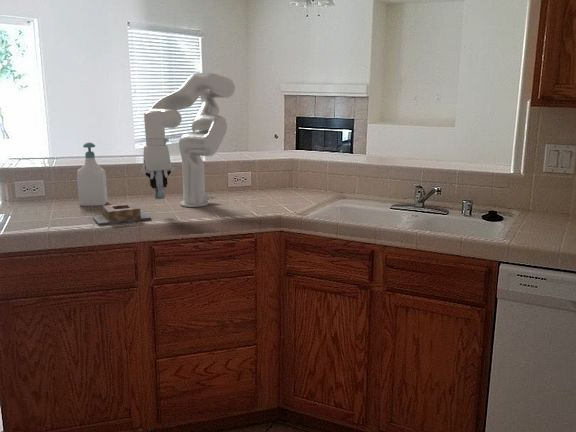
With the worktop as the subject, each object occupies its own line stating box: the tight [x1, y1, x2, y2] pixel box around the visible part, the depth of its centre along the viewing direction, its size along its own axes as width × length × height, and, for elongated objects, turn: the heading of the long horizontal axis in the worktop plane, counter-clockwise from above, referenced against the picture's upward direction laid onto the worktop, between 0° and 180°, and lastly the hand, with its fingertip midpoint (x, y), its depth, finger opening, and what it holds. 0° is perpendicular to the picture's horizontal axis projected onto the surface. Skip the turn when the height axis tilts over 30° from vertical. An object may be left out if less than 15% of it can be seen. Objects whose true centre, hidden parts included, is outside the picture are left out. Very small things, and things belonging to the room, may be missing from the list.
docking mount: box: [92, 202, 152, 227], centre depth 216 cm, size 20×12×5 cm, turn 119°
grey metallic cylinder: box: [153, 170, 166, 200], centre depth 221 cm, size 4×4×12 cm
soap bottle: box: [76, 141, 109, 207], centre depth 242 cm, size 11×8×27 cm
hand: (159, 187), depth 222 cm, fingers closed on grey metallic cylinder, 4 cm apart
